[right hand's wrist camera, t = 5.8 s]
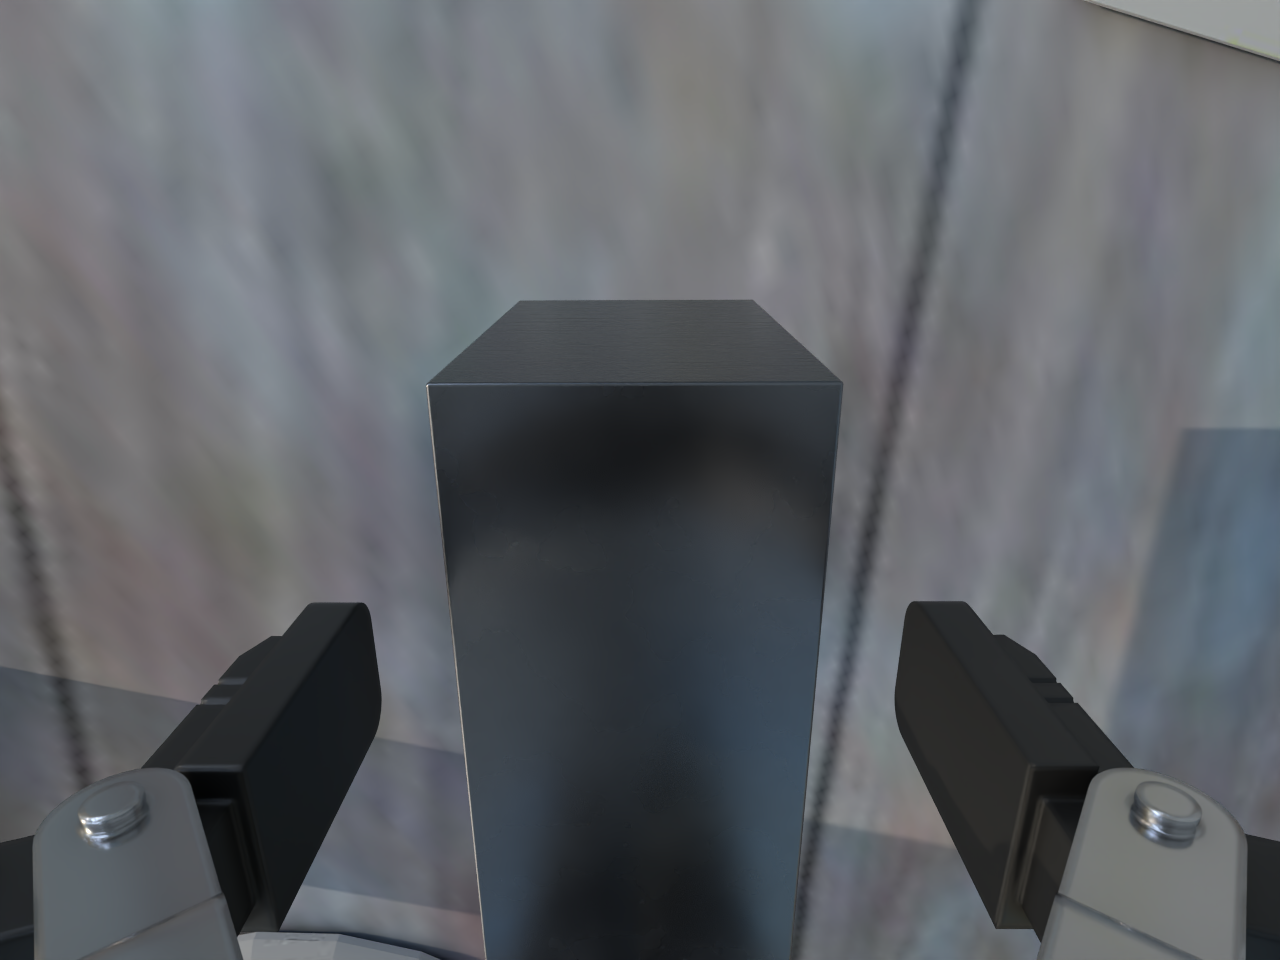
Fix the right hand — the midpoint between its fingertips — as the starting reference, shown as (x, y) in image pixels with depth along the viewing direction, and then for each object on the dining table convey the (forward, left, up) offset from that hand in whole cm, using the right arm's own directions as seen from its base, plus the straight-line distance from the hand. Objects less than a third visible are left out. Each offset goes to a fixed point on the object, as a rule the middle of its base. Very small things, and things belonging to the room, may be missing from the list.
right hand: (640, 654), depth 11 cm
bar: (+6, +6, -10) cm, 13 cm away
